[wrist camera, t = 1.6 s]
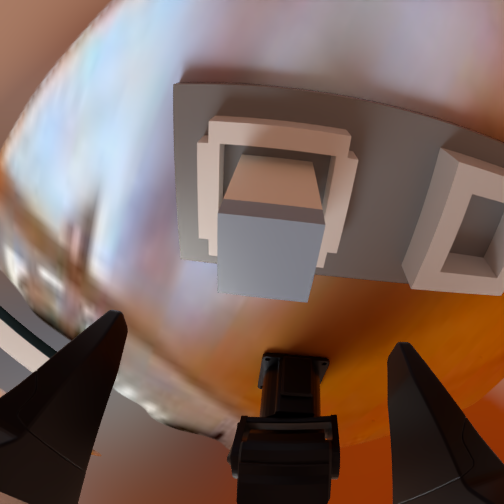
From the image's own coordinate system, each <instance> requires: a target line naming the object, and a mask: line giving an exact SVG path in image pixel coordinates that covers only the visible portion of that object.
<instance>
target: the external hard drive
mask: <svg viewBox="0 0 504 504" xmlns="http://www.w3.org/2000/svg"><path fill="white" fill-rule="evenodd" d="M0 347H1V348H2V349H3V350H4V351H5V352H7V353H8V354H9V355H10V356H12V357H13V358H14V359H15V360H17V361H18V362H19V363H20V364H22V365H23V366H24V367H26V368H27V369H28V370H30V371H31V372H32V373H33V372H34V371H37V369H38V368H39V367H40V366H42V365H43V364H44V363H45V362H46V361H48V360H49V359H50V358H51V357H52V356H54V355H55V354H56V353H57V351H55V350H54V349H52V348H51V347H50V346H48V345H47V344H46V343H44V342H43V341H42V340H41V339H39V338H38V337H36V336H35V335H34V334H33V333H32V332H30V331H29V330H28V329H27V328H25V327H24V326H23V325H22V324H21V323H19V322H18V321H17V320H16V319H15V318H13V317H12V316H11V315H10V314H9V313H8V312H7V311H6V310H4V309H3V308H2V307H1V306H0Z"/></svg>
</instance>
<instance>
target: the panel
mask: <svg viewBox="0 0 504 504" xmlns="http://www.w3.org/2000/svg"><path fill="white" fill-rule="evenodd" d="M173 121H174V160H175V184H176V202H177V218H178V232H179V244H180V256H181V259H182V260H190V261H199V262H207V263H216V264H217V218H218V211H219V208H220V206H221V203H222V201H223V198H224V196H225V193H226V191H227V189H228V186H229V184H230V181H231V179H232V176H233V174H234V172H235V169H236V167H237V164H238V162H239V160H240V157H241V155H242V154H243V155H255V156H265V157H275V158H284V159H293V160H301V161H309V162H313V167H314V171H315V176H316V180H317V185H318V190H319V195H320V199H321V204H322V209H323V214H324V220H325V230H324V234H323V239H322V243H321V248H320V252H319V257H318V261H317V265H316V269H315V274H316V275H325V276H335V277H345V278H355V279H365V280H375V281H385V282H396V283H407V284H409V285H410V288H411V289H418V290H430V291H443V292H455V293H469V294H482V295H496V296H501V295H502V293H503V292H504V142H501V141H499V140H496V139H494V138H491V137H489V136H486V135H484V134H481V133H479V132H476V131H473V130H471V129H468V128H465V127H462V126H459V125H456V124H453V123H450V122H447V121H444V120H441V119H438V118H435V117H431V116H428V115H425V114H421V113H418V112H414V111H410V110H407V109H403V108H399V107H395V106H391V105H387V104H382V103H378V102H373V101H369V100H364V99H359V98H354V97H349V96H343V95H338V94H332V93H325V92H319V91H312V90H304V89H297V88H288V87H278V86H268V85H255V84H238V83H209V82H183V83H176V84H173Z"/></svg>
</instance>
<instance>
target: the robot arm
mask: <svg viewBox="0 0 504 504" xmlns="http://www.w3.org/2000/svg"><path fill="white" fill-rule="evenodd" d="M127 333H128V328H127V325H126V322H125V319H124V315H123V313H122V312H120V311H116V310H110V311H108V312H107V313H105V314H104V315H103V316H102V317H100V318H99V319H98V320H97V321H95V322H94V323H93V324H92V325H90V326H89V327H88V328H87V329H85V330H84V331H83V332H82V333H80V334H79V335H78V336H77V337H76V338H74V339H73V340H72V341H71V342H70V343H68V344H67V345H66V346H64V347H63V348H62V349H61V350H60V351H58V352H57V353H56V354H55V355H54V356H52V357H51V358H50V359H49V360H48V361H46V362H45V363H44V364H43V365H42V366H40V367H39V368H38V369H37V371H34V372H33V373H32V374H31V375H30V376H29V377H27V378H26V379H25V380H23V381H22V382H21V383H20V384H19V385H17V386H16V387H14V388H13V389H12V390H10V391H9V392H8V393H6V394H5V395H3V396H2V397H0V504H78V501H79V497H80V493H81V489H82V485H83V481H84V478H85V474H86V470H87V466H88V463H89V459H90V456H91V452H92V449H93V446H94V442H95V438H96V436H97V433H98V429H99V426H100V423H101V420H102V417H103V414H104V411H105V408H106V405H107V402H108V399H109V396H110V393H111V390H112V387H113V385H114V382H115V379H116V376H117V373H118V369H119V365H120V361H121V357H122V353H123V349H124V345H125V341H126V337H127ZM328 366H329V359H328V358H321V357H307V356H294V355H283V354H273V353H265V354H263V357H262V363H261V369H260V375H259V381H258V388H260V389H262V399H261V409H260V417H248V416H241V420H240V422H239V423H238V424H237V430H236V434H235V438H234V442H233V445H232V447H231V450H230V452H229V454H228V457H227V462H228V463H229V464H230V465H231V469H232V475H233V477H234V478H237V479H238V482H237V504H327V503H328V501H329V499H330V490H331V479H338V476H339V469H340V446H339V434H338V423H337V415H331V416H320V383H321V381H322V379H323V377H324V374H325V372H326V370H327V368H328ZM387 368H388V412H389V423H390V436H391V452H392V474H393V475H392V477H393V504H504V464H503V463H502V461H501V460H500V459H499V458H498V457H497V456H496V454H495V453H494V452H493V451H492V450H491V449H490V447H489V446H488V445H487V444H486V442H485V441H484V440H483V439H482V438H481V436H480V435H479V434H478V432H477V431H476V430H475V429H474V427H473V426H472V424H471V423H470V422H469V420H468V419H467V418H466V416H465V415H464V413H463V412H462V410H461V409H460V408H459V406H458V405H457V404H456V402H455V401H454V400H453V398H452V397H451V395H450V394H449V393H448V391H447V390H446V389H445V387H444V386H443V385H442V383H441V382H440V381H439V380H438V378H437V377H436V376H435V374H434V373H433V372H432V370H431V369H430V368H429V367H428V365H427V364H426V363H425V361H424V360H423V359H422V358H421V356H420V355H419V354H418V353H417V351H416V350H415V349H414V347H413V346H412V345H411V344H410V343H408V342H398V343H397V344H396V345H395V347H394V349H393V350H392V352H391V354H390V355H389V357H388V362H387ZM325 438H327V440H325Z"/></svg>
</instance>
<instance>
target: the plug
mask: <svg viewBox="0 0 504 504" xmlns="http://www.w3.org/2000/svg"><path fill="white" fill-rule="evenodd" d="M324 230H325V220H324V214H323V209H322V204H321V199H320V195H319V190H318V185H317V180H316V176H315V171H314V167H313V162H309V161H301V160H293V159H284V158H275V157H265V156H255V155H243V154H242V155H241V157H240V160H239V162H238V164H237V167H236V169H235V172H234V174H233V176H232V179H231V181H230V184H229V186H228V189H227V191H226V193H225V196H224V198H223V201H222V203H221V206H220V208H219V211H218V218H217V276H218V293H226V294H234V295H242V296H251V297H260V298H269V299H278V300H288V301H298V302H308V298H309V294H310V290H311V286H312V282H313V278H314V274H315V269H316V265H317V261H318V257H319V252H320V248H321V243H322V239H323V234H324Z"/></svg>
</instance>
